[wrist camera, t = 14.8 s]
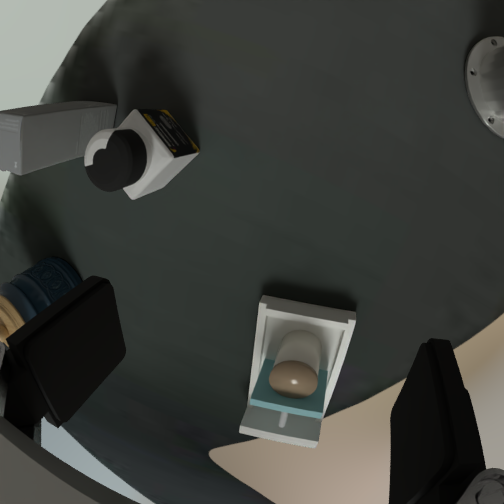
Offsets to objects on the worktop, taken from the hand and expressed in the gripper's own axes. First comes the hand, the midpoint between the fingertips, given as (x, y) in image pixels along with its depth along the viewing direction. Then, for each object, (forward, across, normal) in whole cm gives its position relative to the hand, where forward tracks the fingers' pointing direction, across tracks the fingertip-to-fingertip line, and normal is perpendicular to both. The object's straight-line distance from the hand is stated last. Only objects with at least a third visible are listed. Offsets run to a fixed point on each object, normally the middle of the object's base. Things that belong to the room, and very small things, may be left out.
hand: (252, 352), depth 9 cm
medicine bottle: (+28, +19, -2) cm, 34 cm away
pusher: (+27, 0, +30) cm, 40 cm away
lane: (+28, 0, +26) cm, 39 cm away
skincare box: (+28, +31, -6) cm, 42 cm away
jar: (+28, 0, +22) cm, 36 cm away
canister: (+28, +42, +22) cm, 55 cm away
